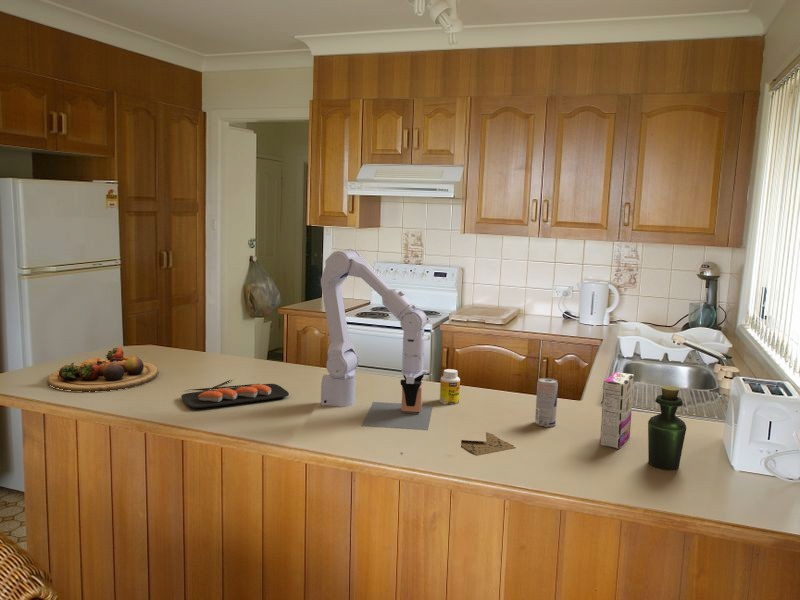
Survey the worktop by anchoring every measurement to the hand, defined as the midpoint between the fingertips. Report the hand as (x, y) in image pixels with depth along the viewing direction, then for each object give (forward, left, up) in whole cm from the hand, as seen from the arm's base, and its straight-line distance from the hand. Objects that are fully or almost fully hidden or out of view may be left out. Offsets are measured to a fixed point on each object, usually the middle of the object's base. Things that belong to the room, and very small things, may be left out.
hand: (411, 402), depth 182 cm
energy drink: (+36, -1, -4) cm, 36 cm away
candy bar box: (+52, -11, -4) cm, 53 cm away
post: (0, 0, -2) cm, 2 cm away
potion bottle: (+60, -25, -4) cm, 65 cm away
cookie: (+19, -19, -4) cm, 27 cm away
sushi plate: (-56, +11, -4) cm, 57 cm away
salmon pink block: (0, 0, -2) cm, 2 cm away
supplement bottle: (+10, +11, -4) cm, 15 cm away
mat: (-3, -4, -3) cm, 6 cm away
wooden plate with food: (-99, +18, -4) cm, 101 cm away
